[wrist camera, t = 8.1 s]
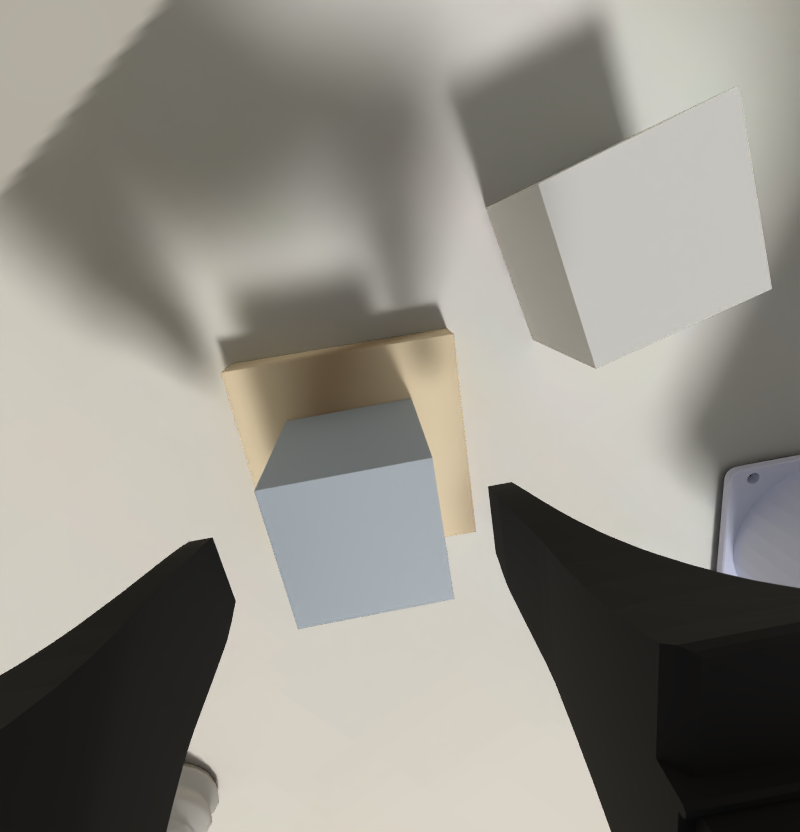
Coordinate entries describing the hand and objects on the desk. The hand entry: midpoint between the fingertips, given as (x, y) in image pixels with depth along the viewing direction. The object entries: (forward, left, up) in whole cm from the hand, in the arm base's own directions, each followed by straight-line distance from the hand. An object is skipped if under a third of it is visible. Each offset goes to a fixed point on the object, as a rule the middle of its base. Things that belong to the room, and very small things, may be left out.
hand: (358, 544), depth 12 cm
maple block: (0, 0, -7) cm, 7 cm away
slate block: (0, 0, -5) cm, 5 cm away
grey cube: (-9, -6, -7) cm, 13 cm away
